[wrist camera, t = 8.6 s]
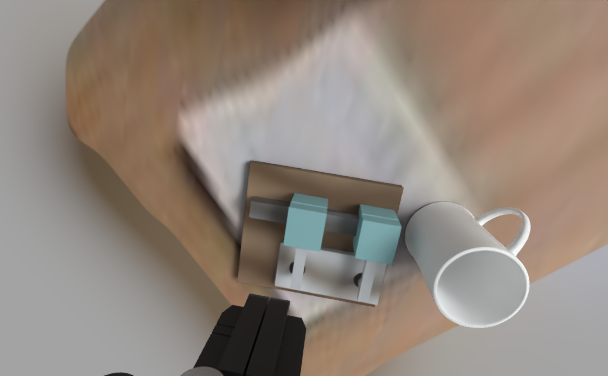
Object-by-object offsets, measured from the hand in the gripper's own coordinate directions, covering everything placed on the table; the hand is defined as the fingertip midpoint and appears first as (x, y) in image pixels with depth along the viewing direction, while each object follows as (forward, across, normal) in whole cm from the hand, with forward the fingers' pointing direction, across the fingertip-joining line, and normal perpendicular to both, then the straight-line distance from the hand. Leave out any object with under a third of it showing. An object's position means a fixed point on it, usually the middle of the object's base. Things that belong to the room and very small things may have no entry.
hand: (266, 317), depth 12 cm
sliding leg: (+28, 0, +9) cm, 29 cm away
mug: (+29, -18, +5) cm, 34 cm away
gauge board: (+29, -2, +9) cm, 30 cm away
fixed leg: (+28, -8, +9) cm, 30 cm away
